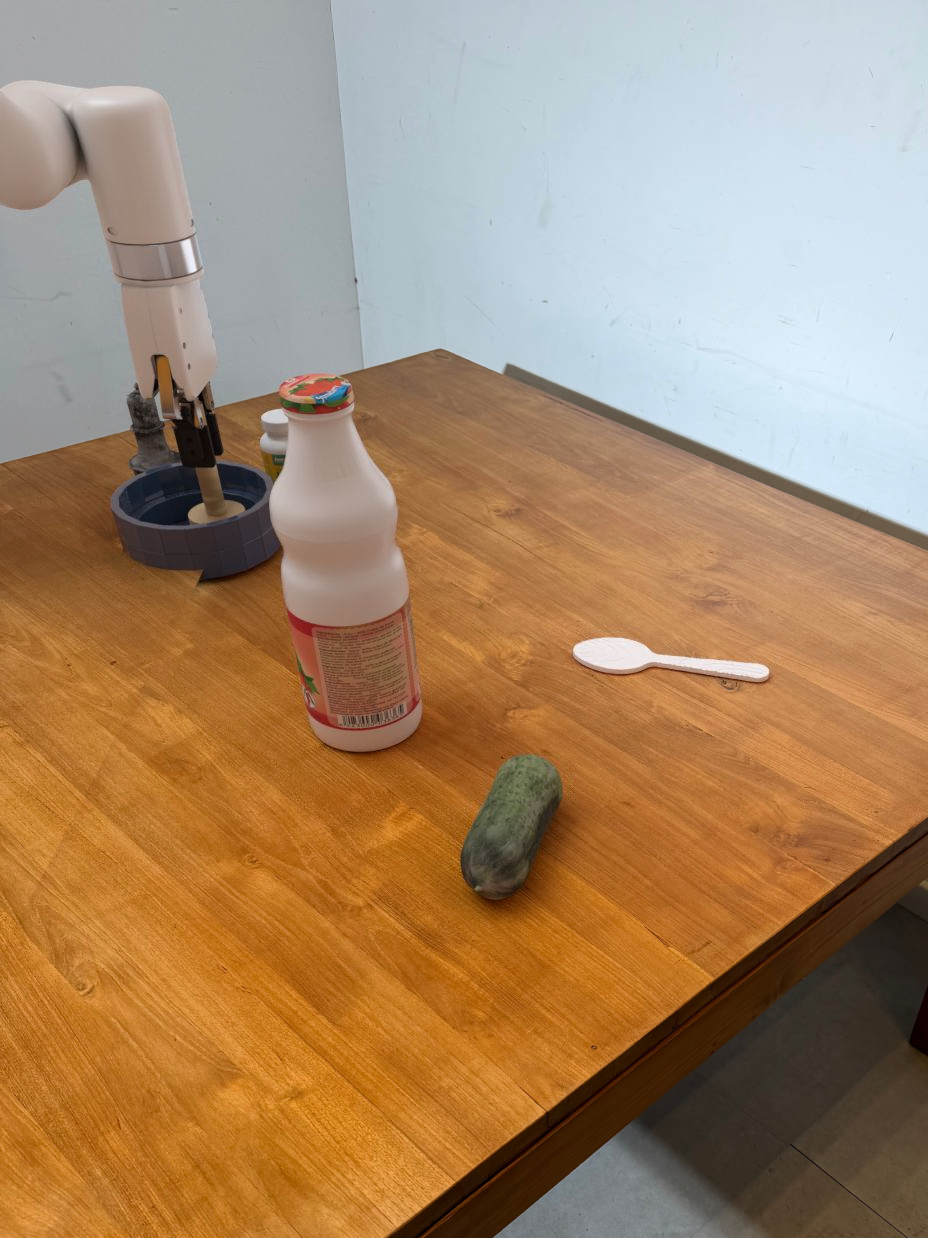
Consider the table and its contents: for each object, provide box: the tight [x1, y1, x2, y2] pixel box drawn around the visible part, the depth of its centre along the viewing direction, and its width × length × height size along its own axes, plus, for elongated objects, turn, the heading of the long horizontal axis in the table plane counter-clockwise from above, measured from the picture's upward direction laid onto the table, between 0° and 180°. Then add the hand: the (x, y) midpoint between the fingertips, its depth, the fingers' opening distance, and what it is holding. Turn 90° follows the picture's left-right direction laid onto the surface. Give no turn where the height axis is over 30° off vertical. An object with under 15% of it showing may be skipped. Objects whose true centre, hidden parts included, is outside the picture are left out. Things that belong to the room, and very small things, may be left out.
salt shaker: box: [126, 382, 181, 476], centre depth 122 cm, size 6×6×12 cm
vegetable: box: [459, 753, 564, 901], centre depth 81 cm, size 14×5×5 cm, turn 167°
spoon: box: [572, 636, 770, 683], centre depth 102 cm, size 5×18×1 cm, turn 80°
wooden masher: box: [179, 401, 245, 525], centre depth 111 cm, size 6×6×12 cm
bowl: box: [110, 459, 282, 581], centre depth 114 cm, size 16×16×6 cm
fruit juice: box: [269, 373, 423, 753], centre depth 85 cm, size 9×9×28 cm
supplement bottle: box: [259, 408, 289, 483], centre depth 121 cm, size 5×5×10 cm
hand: (203, 459), depth 110 cm, fingers closed on wooden masher
